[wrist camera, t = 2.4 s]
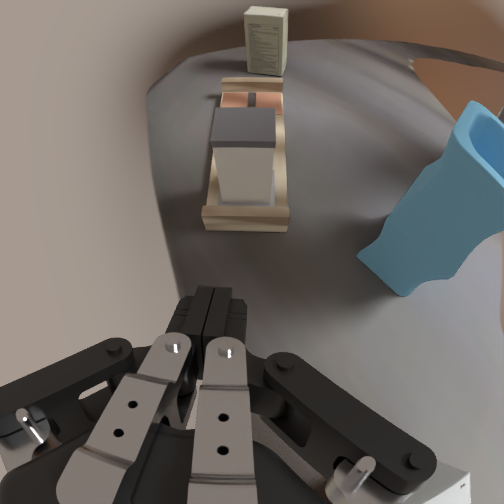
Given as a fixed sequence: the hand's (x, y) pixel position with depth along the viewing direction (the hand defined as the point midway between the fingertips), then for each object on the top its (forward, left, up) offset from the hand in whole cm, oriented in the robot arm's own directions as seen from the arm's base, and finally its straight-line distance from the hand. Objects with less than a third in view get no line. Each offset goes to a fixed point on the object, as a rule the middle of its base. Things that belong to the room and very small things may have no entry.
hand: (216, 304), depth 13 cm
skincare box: (-36, -26, -17) cm, 47 cm away
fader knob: (-12, -10, -15) cm, 22 cm away
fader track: (-19, -15, -17) cm, 29 cm away
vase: (-19, +8, -17) cm, 27 cm away
